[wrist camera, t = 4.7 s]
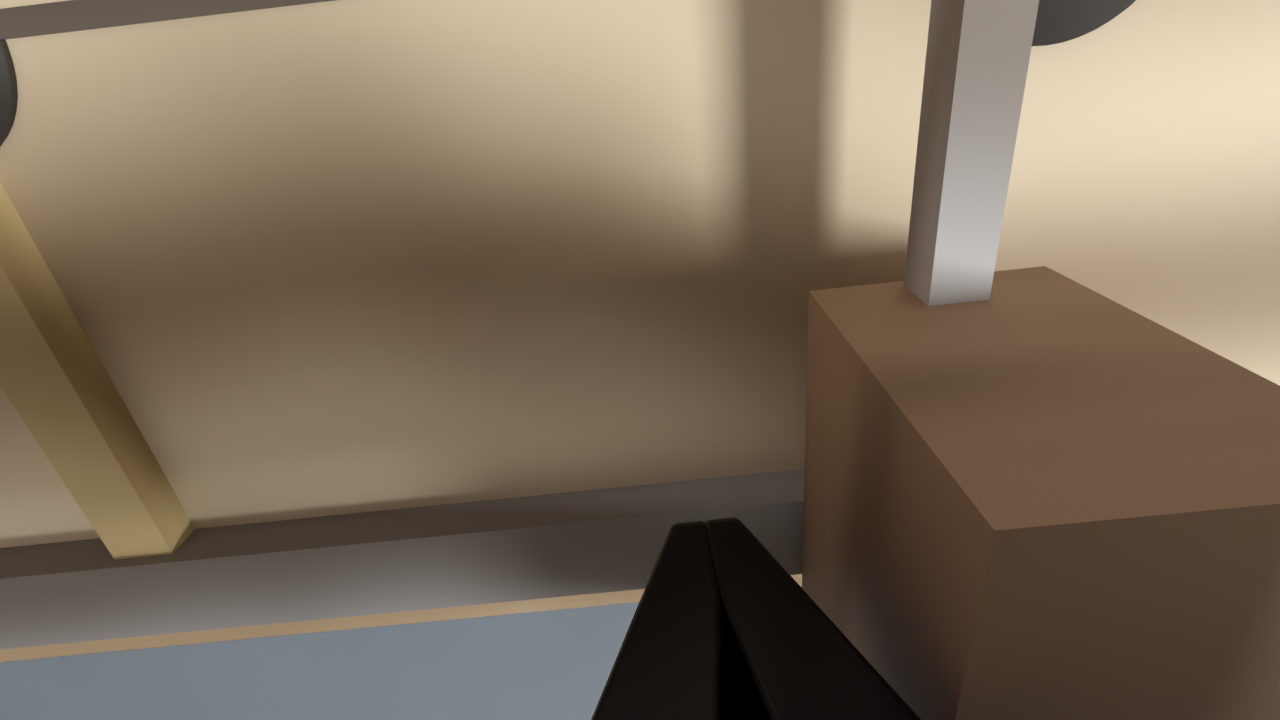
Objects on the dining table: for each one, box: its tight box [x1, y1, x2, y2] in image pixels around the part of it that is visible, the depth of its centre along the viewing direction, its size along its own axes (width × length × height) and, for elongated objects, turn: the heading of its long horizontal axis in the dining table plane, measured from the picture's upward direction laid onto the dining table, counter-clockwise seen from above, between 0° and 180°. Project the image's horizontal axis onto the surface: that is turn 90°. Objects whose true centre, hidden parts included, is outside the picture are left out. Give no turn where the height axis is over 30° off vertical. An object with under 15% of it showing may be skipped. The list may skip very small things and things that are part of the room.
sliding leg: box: [802, 0, 1280, 720], centre depth 6 cm, size 11×3×5 cm, turn 6°
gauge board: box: [0, 0, 1280, 662], centre depth 9 cm, size 13×25×2 cm, turn 96°
